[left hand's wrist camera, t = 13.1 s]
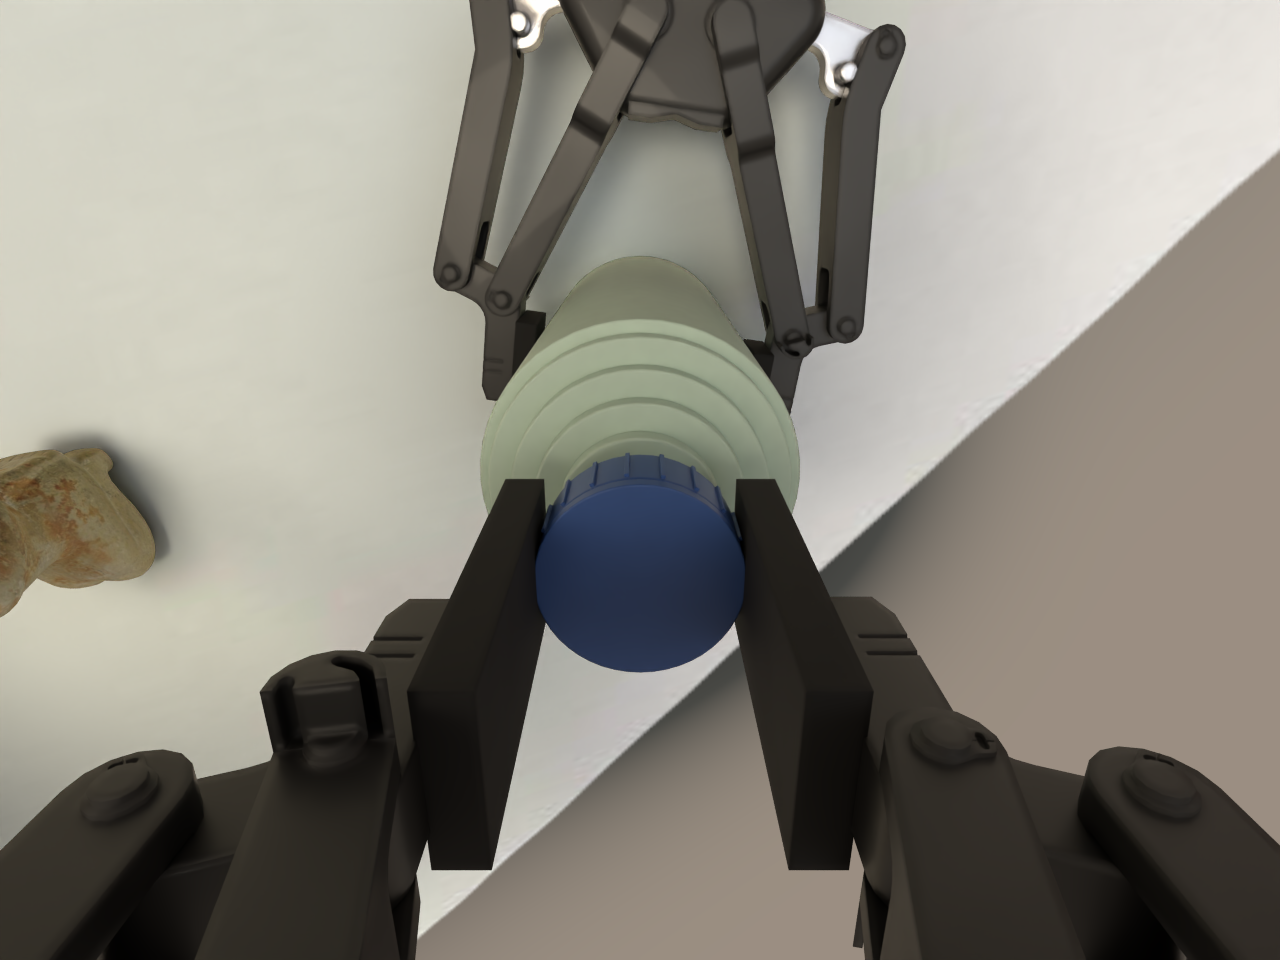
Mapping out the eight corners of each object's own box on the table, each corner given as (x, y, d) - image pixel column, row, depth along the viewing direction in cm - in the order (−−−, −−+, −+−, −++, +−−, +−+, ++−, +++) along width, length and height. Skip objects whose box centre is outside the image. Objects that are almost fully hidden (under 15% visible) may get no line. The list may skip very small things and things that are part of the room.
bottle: (548, 415, 35) (423, 721, 15) (563, 244, 32) (433, 336, 12) (710, 435, 35) (803, 760, 15) (738, 268, 32) (899, 395, 12)
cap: (534, 617, 15) (522, 664, 14) (549, 438, 14) (538, 468, 12) (720, 638, 15) (728, 685, 14) (754, 463, 14) (768, 495, 13)
